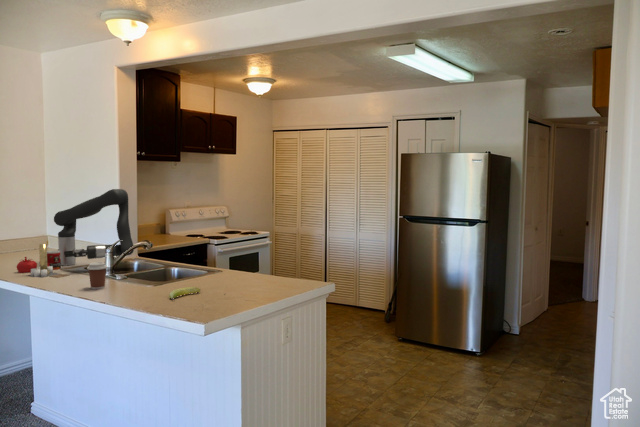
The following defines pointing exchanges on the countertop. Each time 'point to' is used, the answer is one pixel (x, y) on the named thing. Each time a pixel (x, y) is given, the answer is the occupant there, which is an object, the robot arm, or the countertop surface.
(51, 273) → the mat
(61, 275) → the walnut pad
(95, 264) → the coffee cup
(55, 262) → the canned food
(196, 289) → the green caterpillar
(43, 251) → the gold tall tapered cylinder
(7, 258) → the countertop surface
